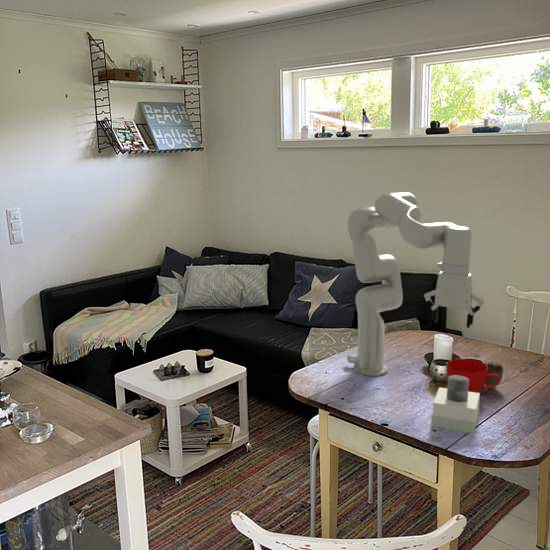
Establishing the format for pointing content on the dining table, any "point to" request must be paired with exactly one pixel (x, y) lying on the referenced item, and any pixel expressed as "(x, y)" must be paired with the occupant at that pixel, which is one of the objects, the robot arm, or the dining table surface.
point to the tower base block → (454, 423)
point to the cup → (493, 370)
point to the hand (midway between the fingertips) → (451, 324)
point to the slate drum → (457, 388)
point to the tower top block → (456, 406)
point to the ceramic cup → (471, 373)
